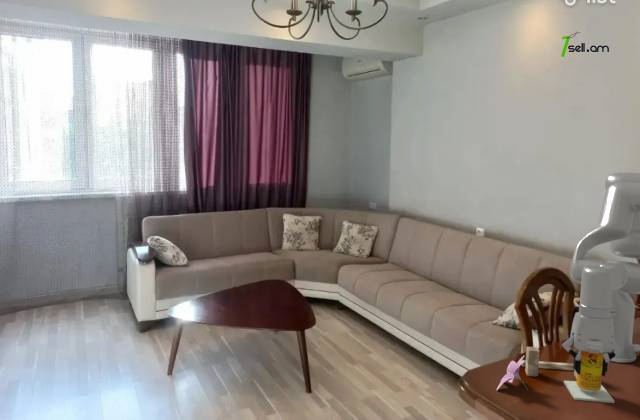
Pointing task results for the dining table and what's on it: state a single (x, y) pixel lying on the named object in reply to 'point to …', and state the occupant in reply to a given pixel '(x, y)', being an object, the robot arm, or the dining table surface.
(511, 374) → the lily
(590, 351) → the beer can
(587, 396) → the mat
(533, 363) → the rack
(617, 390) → the dining table surface
